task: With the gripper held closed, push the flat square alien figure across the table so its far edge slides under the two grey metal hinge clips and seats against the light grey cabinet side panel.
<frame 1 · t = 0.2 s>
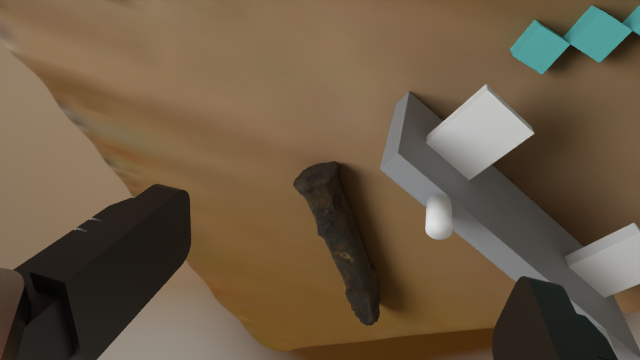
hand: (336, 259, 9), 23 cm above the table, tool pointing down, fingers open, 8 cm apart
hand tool: (357, 235, 39), on the table
cabinet side: (499, 183, 32), on the table
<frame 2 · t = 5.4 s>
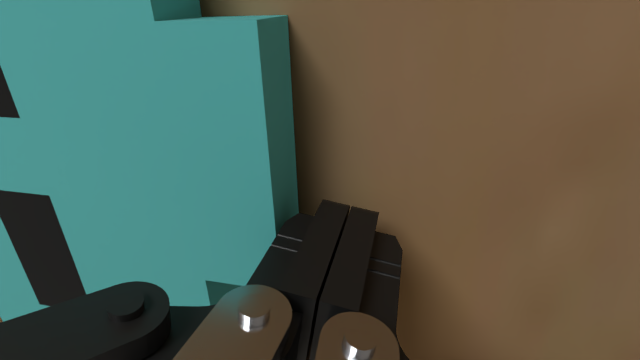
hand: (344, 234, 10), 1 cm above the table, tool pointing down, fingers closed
alien figure: (20, 125, 13), on the table, touching gripper
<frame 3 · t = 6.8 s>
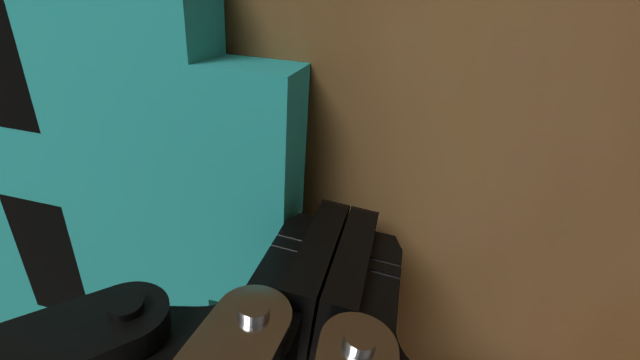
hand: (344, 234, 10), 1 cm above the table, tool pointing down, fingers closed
alien figure: (30, 128, 13), on the table, touching gripper
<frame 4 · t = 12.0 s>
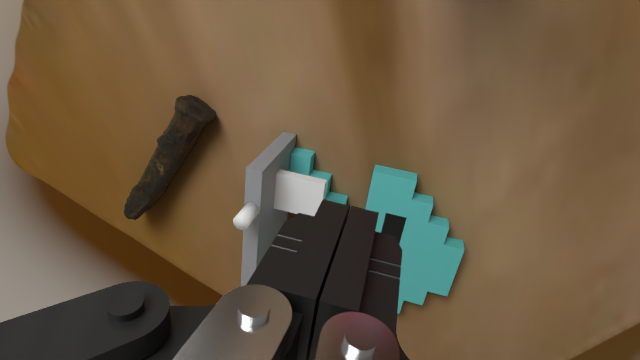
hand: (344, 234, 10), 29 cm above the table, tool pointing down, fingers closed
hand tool: (178, 161, 47), on the table
cabinet side: (281, 217, 46), on the table
alien figure: (368, 239, 45), on the table
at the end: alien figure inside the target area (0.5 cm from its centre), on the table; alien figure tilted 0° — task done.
